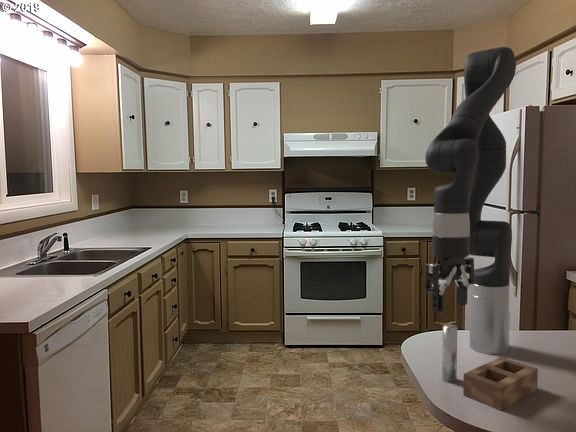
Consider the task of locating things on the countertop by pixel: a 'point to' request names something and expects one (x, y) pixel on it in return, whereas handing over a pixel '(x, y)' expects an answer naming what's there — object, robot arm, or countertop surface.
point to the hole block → (500, 382)
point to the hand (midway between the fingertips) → (450, 307)
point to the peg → (449, 353)
